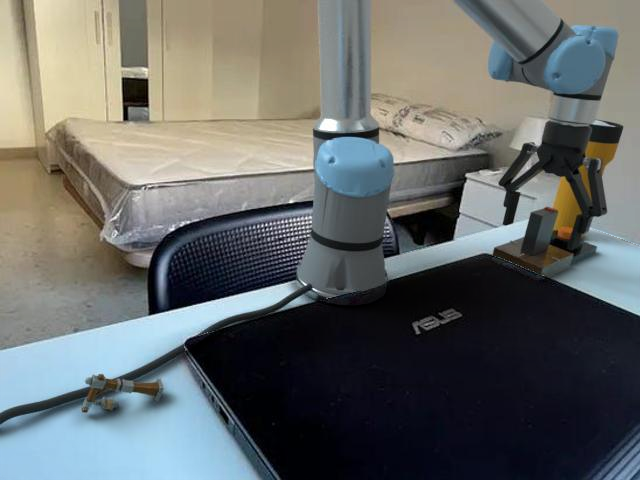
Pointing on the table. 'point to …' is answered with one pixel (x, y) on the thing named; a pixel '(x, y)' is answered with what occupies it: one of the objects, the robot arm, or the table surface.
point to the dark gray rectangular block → (539, 230)
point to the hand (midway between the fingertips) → (538, 235)
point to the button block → (579, 252)
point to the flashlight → (598, 147)
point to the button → (565, 232)
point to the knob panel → (535, 258)
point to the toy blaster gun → (123, 386)
